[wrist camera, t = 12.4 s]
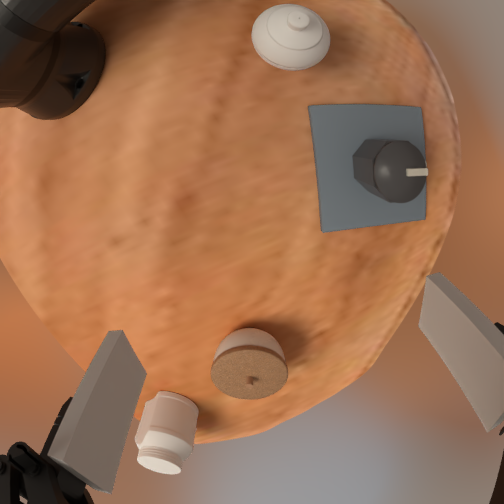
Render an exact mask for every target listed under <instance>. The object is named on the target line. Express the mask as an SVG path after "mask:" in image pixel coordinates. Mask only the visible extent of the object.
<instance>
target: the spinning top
mask: <svg viewBox="0 0 504 504" xmlns="http://www.w3.org/2000/svg"><path fill="white" fill-rule="evenodd" d="M252 42H253V45H254V47H255V49H256V51H257V53H258V54H259V55H260V56H261V58H262V59H264V60H265V61H266V62H267V63H269V64H271V65H272V66H274V67H277V68H280V69H284V70H291V71H297V70H304V69H307V68H310V67H312V66H314V65H316V64H317V63H319V62H320V61H321V60H322V59H323V58H324V57H325V55H326V54H327V52H328V49H329V46H330V33H329V30H328V27H327V25H326V23H325V22H324V21H323V19H322V18H321V17H320V16H319V15H318V14H316V13H315V12H314V11H312V10H310V9H308V8H306V7H303V6H300V5H295V4H281V5H277V6H273V7H271V8H269V9H267V10H265V11H264V12H263V13H262V14H260V15H259V17H258V18H257V19H256V21H255V23H254V25H253V28H252Z"/></svg>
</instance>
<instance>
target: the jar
mask: <svg viewBox="0 0 504 504" xmlns="http://www.w3.org/2000/svg"><path fill="white" fill-rule="evenodd" d="M144 407H145V408H144V411H143V414H142V417H141V421H140V424H139V427H138V430H137V434H136V436H135V441H136V444H137V446H138V448H139V453H138V457H137V461H138V462H139V463H140V464H141V465H142V466H144V467H146V468H147V469H150V470H152V471H155V472H159V473H164V474H178V473H180V472H181V469H182V468H181V467H182V462H183V461H184V460H185V459H187V458H188V457H189V456H190V455H191V453H192V452H193V448H194V446H193V444H194V437H195V431H196V424H197V417H198V413H199V411H198V408H197V406H196V405H195V404H194V403H193V402H192V401H191V400H190V399H188V398H186V397H184V396H182V395H180V394H177V393H173V392H168V391H159V392H158V393H157V395H156V396H155V397H154V398H153V399H151V400H148V401H147V402H146V403H145V406H144Z"/></svg>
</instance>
